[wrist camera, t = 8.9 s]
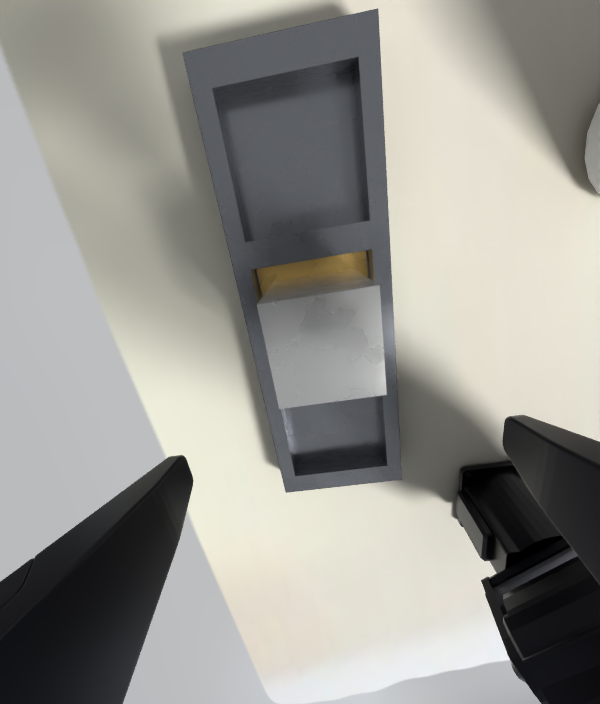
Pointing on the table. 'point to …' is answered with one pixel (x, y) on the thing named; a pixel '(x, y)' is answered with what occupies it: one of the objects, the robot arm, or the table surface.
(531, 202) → the table surface
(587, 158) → the can
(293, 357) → the metal block
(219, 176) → the gray compartment tray
